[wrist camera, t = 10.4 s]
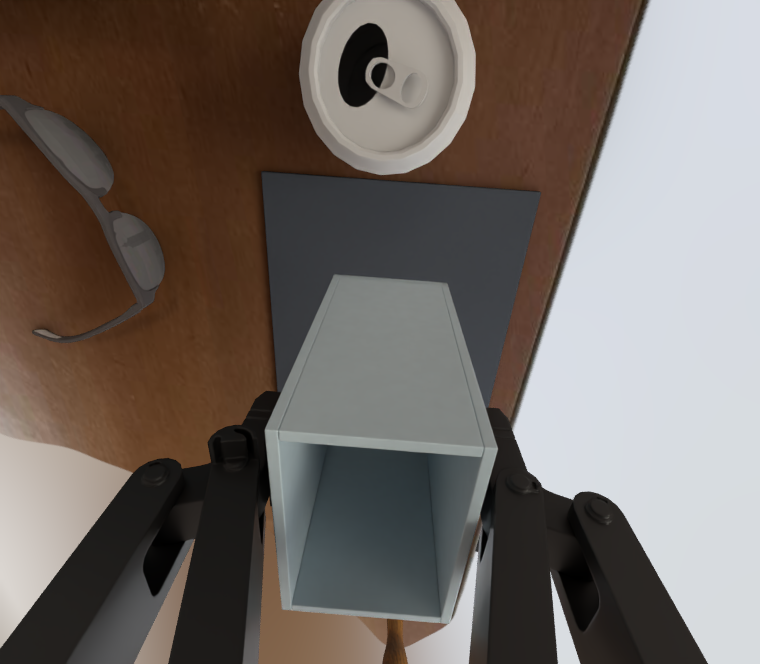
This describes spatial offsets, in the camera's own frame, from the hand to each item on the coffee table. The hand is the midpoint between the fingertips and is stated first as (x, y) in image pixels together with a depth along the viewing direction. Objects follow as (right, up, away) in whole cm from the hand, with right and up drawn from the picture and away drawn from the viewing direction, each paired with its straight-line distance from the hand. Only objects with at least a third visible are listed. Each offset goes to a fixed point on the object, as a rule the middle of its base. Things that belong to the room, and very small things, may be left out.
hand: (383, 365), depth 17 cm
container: (0, +1, +2) cm, 2 cm away
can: (+1, +17, +9) cm, 19 cm away
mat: (+1, +4, +16) cm, 16 cm away
